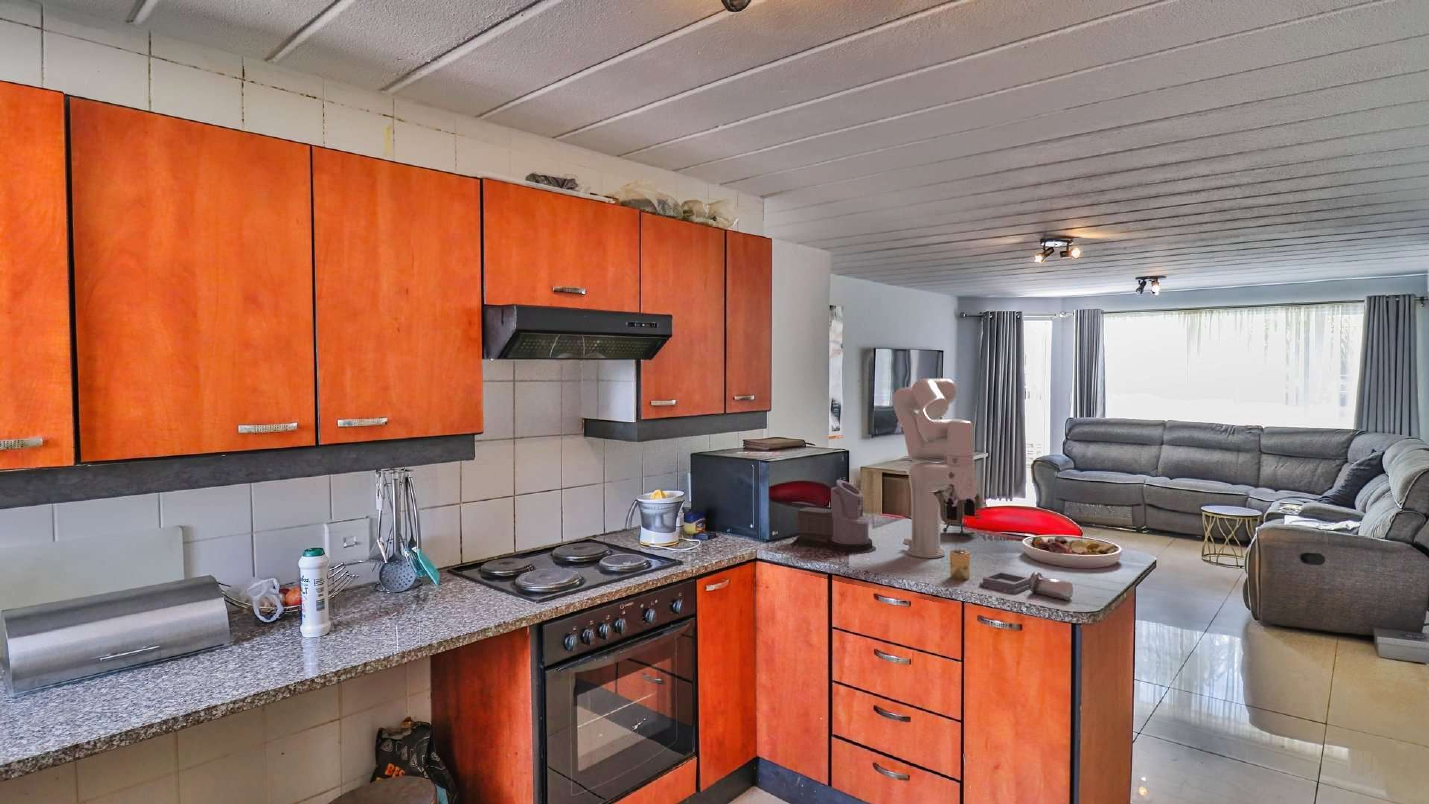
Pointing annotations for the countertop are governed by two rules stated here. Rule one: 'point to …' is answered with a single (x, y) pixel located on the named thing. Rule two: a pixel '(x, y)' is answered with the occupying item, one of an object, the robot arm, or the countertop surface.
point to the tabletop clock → (959, 512)
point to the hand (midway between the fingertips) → (960, 517)
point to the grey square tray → (1006, 582)
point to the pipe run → (1050, 587)
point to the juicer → (836, 523)
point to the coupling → (960, 565)
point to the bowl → (1072, 551)
